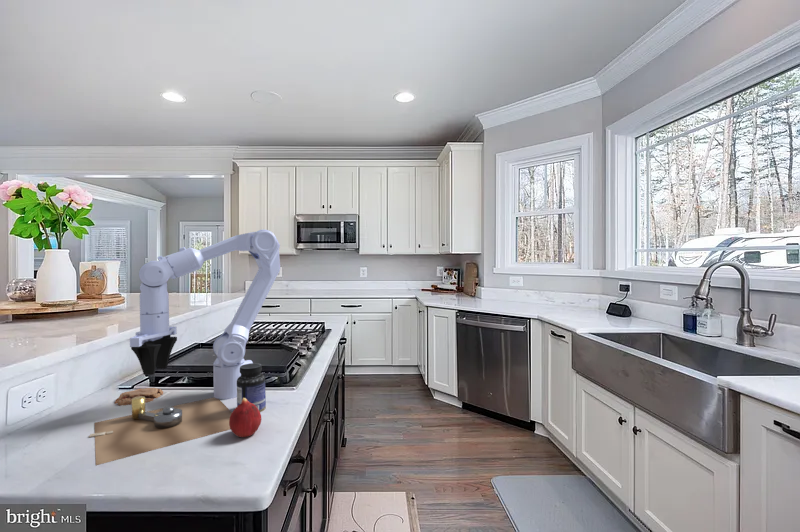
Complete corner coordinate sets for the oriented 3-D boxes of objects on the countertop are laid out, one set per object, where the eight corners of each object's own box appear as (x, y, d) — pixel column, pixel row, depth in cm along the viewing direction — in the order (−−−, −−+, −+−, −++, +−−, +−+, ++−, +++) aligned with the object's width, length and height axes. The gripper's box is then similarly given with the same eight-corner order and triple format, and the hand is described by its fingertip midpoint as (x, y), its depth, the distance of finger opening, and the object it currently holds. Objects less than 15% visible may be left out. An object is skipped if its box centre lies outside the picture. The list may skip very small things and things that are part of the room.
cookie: (172, 395, 101) (172, 384, 101) (142, 411, 90) (142, 398, 90) (137, 395, 102) (137, 383, 102) (103, 410, 91) (103, 397, 91)
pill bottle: (270, 408, 91) (269, 362, 91) (259, 419, 85) (258, 369, 85) (244, 408, 91) (244, 362, 91) (231, 418, 85) (231, 369, 85)
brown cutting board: (216, 400, 96) (216, 395, 96) (244, 430, 79) (244, 424, 79) (88, 428, 81) (88, 422, 81) (89, 473, 64) (88, 465, 64)
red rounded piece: (267, 434, 77) (267, 394, 77) (247, 447, 72) (246, 405, 72) (244, 430, 79) (243, 391, 79) (222, 443, 74) (222, 401, 74)
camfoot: (187, 419, 82) (187, 400, 82) (165, 429, 77) (165, 409, 77) (146, 411, 86) (145, 393, 86) (123, 420, 82) (122, 401, 81)
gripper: (156, 309, 96) (157, 363, 97) (114, 317, 82) (115, 381, 82) (184, 308, 97) (185, 362, 97) (148, 317, 82) (149, 380, 82)
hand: (155, 371), depth 90 cm, fingers open, 4 cm apart
